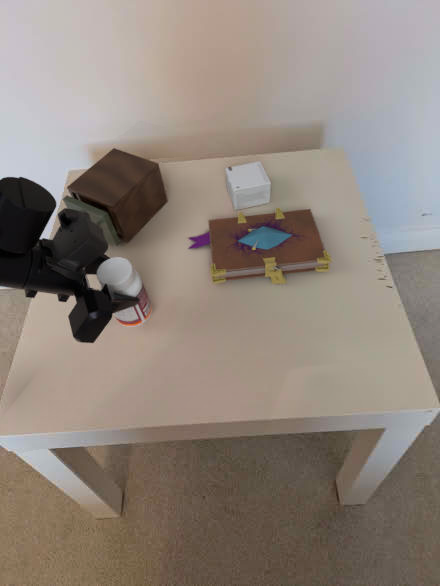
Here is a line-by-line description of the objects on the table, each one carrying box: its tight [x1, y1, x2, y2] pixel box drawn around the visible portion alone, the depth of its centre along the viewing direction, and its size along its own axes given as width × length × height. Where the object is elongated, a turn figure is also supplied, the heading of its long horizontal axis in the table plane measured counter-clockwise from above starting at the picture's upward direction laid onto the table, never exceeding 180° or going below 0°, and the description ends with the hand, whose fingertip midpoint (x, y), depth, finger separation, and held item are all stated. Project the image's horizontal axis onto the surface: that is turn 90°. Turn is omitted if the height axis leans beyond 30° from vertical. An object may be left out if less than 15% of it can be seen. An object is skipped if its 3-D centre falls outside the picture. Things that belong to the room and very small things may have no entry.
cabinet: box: [66, 147, 169, 244], centre depth 75 cm, size 14×12×10 cm
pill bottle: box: [96, 256, 153, 328], centre depth 57 cm, size 6×6×11 cm
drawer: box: [62, 193, 122, 247], centre depth 72 cm, size 17×10×8 cm, turn 148°
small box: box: [224, 160, 272, 211], centre depth 77 cm, size 8×8×5 cm
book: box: [187, 207, 333, 285], centre depth 68 cm, size 16×25×5 cm, turn 95°
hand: (132, 286), depth 57 cm, fingers closed on pill bottle, 6 cm apart
